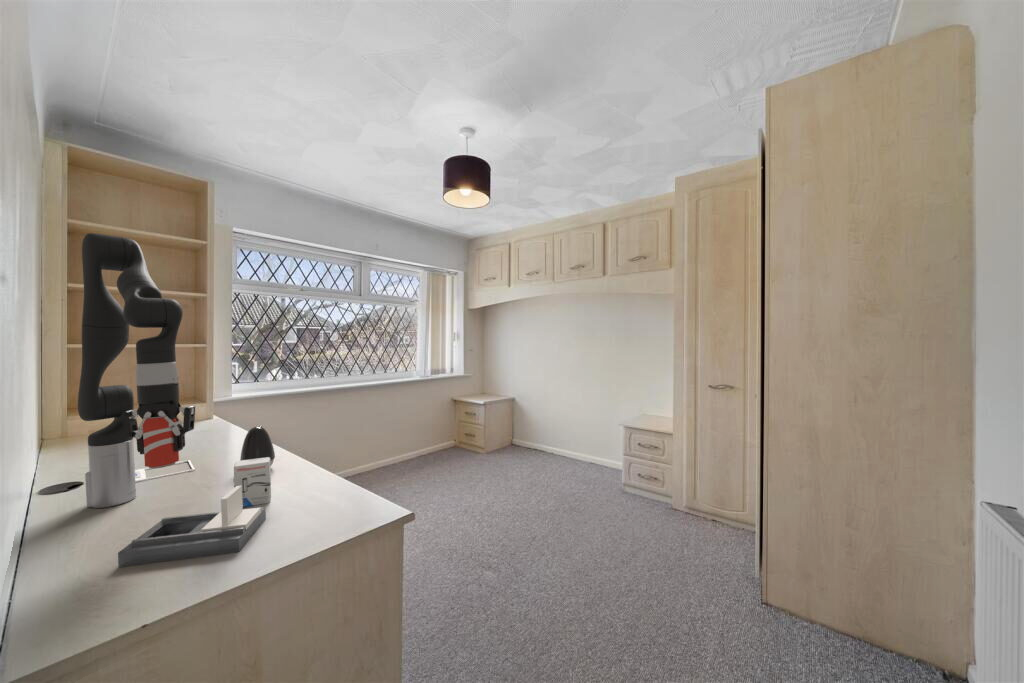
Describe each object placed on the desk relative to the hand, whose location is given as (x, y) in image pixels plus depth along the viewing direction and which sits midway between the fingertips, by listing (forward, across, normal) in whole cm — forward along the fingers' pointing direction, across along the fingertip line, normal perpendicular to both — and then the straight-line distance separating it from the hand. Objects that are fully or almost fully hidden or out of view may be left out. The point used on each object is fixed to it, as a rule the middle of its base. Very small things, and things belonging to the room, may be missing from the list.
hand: (162, 451), depth 97 cm
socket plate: (+20, +10, -6) cm, 23 cm away
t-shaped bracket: (+17, +16, -6) cm, 24 cm away
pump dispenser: (+19, +5, +44) cm, 48 cm away
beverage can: (+3, 0, 0) cm, 3 cm away
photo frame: (+19, -29, +52) cm, 62 cm away
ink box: (+20, +14, +14) cm, 28 cm away
